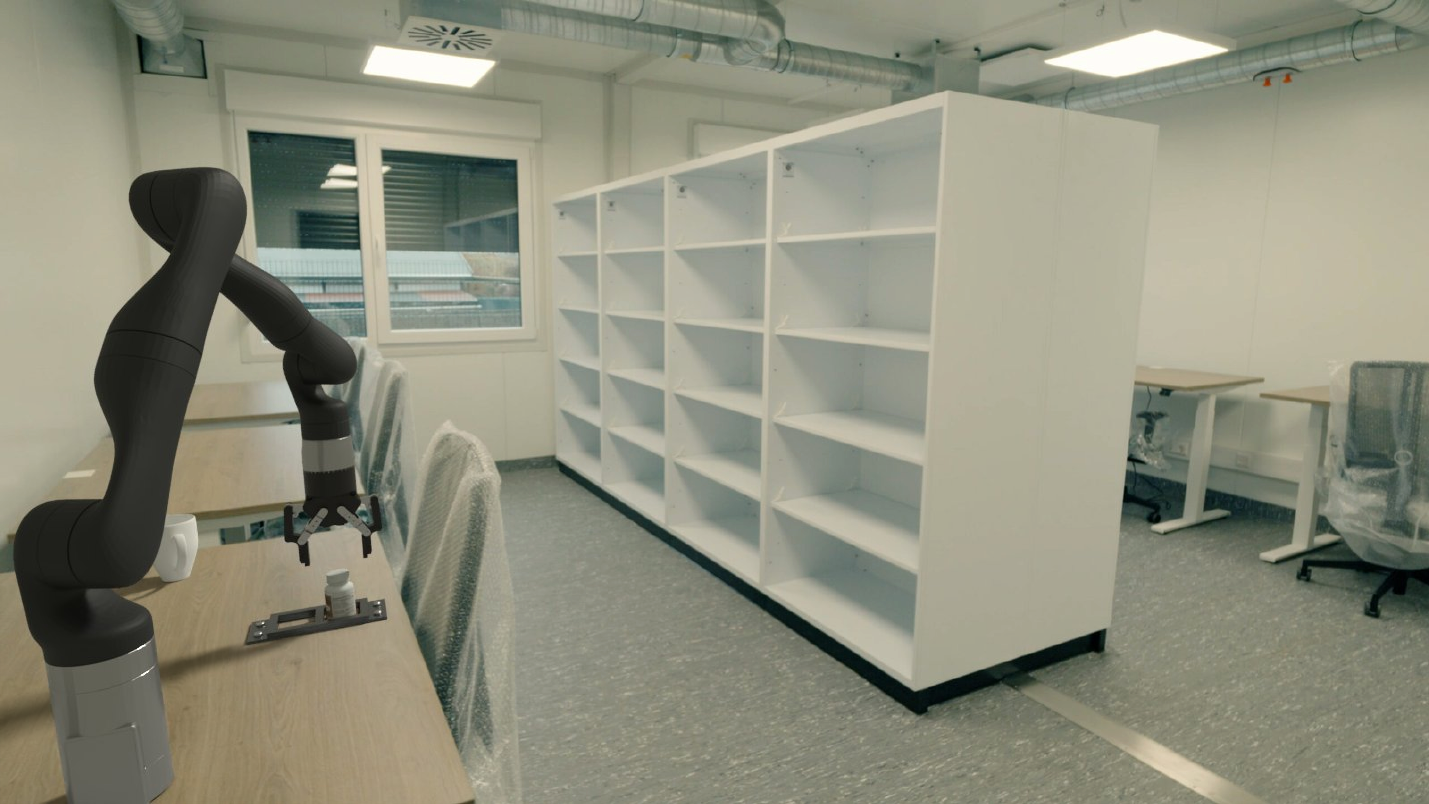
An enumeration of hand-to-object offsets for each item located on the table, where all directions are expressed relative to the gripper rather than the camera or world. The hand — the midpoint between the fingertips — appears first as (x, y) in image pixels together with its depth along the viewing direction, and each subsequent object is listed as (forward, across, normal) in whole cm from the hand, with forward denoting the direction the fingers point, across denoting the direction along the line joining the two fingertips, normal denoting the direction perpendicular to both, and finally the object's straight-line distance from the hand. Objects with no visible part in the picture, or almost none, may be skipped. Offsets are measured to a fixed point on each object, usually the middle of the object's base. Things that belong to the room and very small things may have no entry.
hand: (337, 560), depth 126 cm
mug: (+10, -28, +32) cm, 44 cm away
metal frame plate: (+10, -3, 0) cm, 11 cm away
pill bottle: (+10, 0, 0) cm, 10 cm away
